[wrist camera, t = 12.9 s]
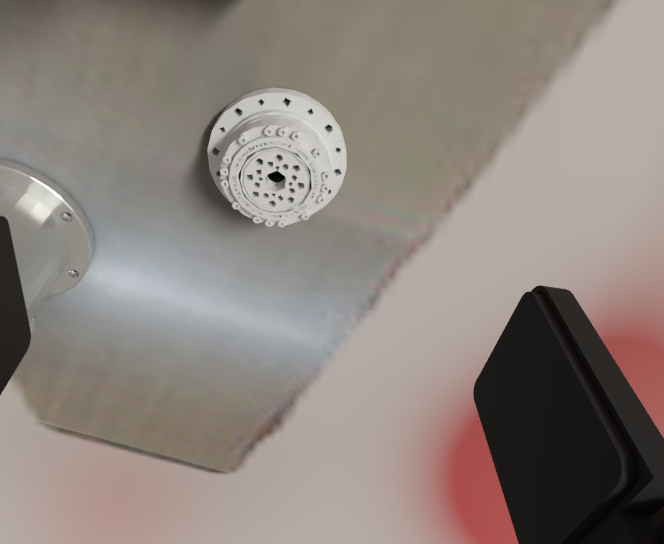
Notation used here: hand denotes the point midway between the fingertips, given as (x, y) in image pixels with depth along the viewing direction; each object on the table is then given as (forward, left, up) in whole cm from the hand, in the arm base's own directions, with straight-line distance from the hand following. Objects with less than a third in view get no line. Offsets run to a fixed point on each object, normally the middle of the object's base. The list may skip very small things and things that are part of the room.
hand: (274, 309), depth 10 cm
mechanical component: (-10, 0, -29) cm, 30 cm away
